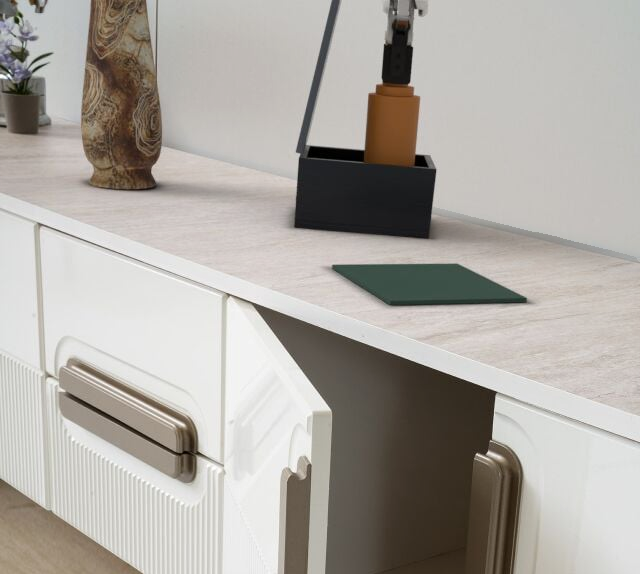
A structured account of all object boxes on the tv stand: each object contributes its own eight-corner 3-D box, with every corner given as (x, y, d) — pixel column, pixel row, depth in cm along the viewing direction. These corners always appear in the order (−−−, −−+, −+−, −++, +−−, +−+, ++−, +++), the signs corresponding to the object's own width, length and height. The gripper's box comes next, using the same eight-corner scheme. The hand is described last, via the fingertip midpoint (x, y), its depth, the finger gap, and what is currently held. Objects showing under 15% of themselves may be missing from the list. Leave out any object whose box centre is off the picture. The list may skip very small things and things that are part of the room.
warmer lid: (341, 0, 132) (334, -2, 132) (340, 0, 120) (332, -3, 120) (307, 141, 138) (300, 139, 138) (302, 154, 126) (295, 152, 126)
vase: (170, 191, 146) (175, -65, 134) (88, 190, 142) (86, -73, 130) (149, 178, 154) (153, -63, 143) (71, 177, 150) (68, -72, 139)
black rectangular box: (423, 219, 141) (430, 155, 138) (428, 238, 130) (436, 169, 127) (299, 208, 141) (303, 144, 138) (294, 227, 130) (298, 157, 127)
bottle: (399, 179, 137) (411, 31, 131) (421, 187, 132) (435, 34, 125) (354, 179, 135) (364, 29, 128) (374, 187, 130) (386, 31, 123)
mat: (456, 267, 116) (457, 263, 116) (526, 302, 105) (527, 297, 104) (331, 268, 111) (332, 264, 111) (390, 305, 100) (390, 300, 99)
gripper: (449, -101, 114) (432, 89, 122) (439, -89, 129) (424, 80, 137) (376, -106, 114) (363, 85, 122) (374, -93, 129) (362, 76, 137)
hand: (395, 80), depth 129 cm, fingers closed on bottle, 3 cm apart
